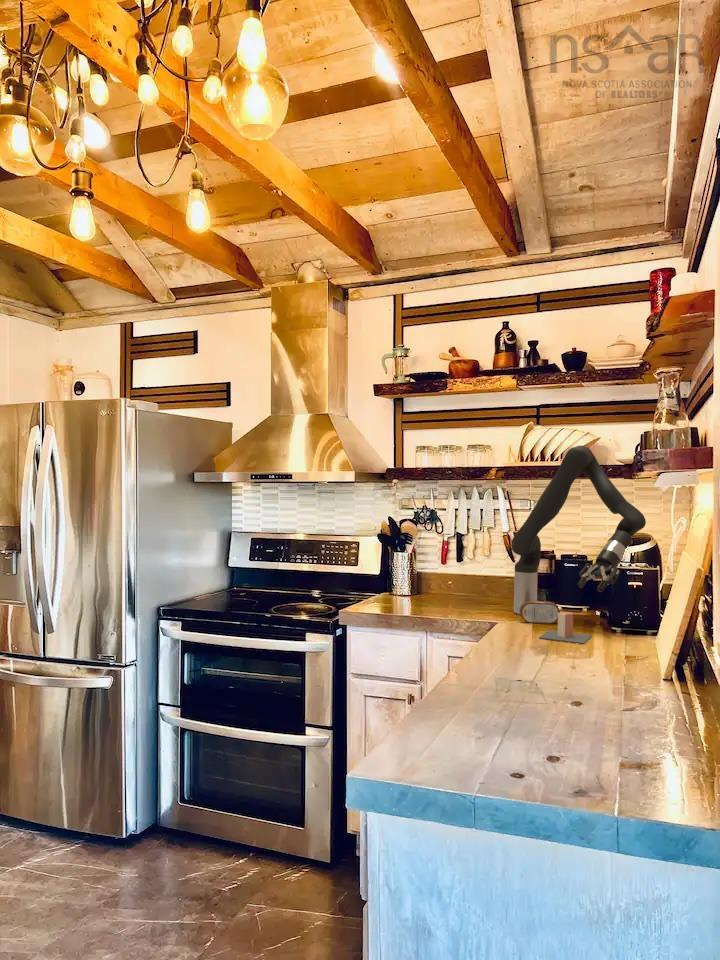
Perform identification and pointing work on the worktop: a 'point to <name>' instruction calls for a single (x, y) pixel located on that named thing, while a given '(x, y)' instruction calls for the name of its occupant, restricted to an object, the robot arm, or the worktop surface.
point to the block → (565, 624)
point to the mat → (575, 639)
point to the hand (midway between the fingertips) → (589, 588)
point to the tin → (539, 612)
